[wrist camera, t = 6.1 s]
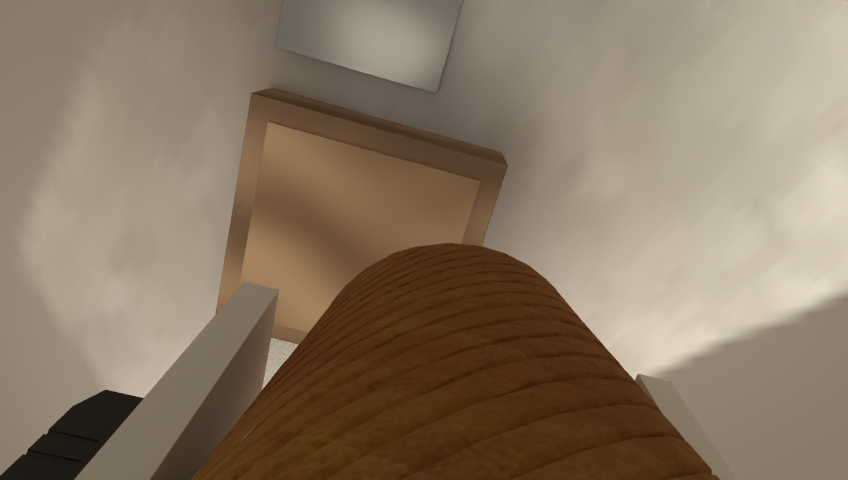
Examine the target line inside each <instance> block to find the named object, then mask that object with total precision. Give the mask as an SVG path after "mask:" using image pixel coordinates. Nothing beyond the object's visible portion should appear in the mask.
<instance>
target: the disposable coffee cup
mask: <svg viewBox="0 0 848 480" xmlns="http://www.w3.org/2000/svg"><path fill="white" fill-rule="evenodd" d="M190 480H720V479H719V478H718V477H717V475H712V469H711V468H710V467H709V466H708V465H707V463H706V462H705V461H704V460H703V459H702V458H701V457H700V456H699V454H698V453H697V452H696V451H695V450H694V449H693V448H692V447H691V445H690V444H689V443H688V442H687V441H685V439H684V438H683V437H682V435H681V434H680V433H679V432H678V430H677V429H676V428H675V427H674V426H673V425H672V424H671V422H670V421H669V420H668V419H667V418H666V417H665V416H664V415H663V413H662V412H661V411H660V410H659V408H658V407H657V406H656V405H655V404H654V402H653V401H652V400H651V399H650V398H649V397H648V396H647V395H646V394H645V392H644V391H643V390H642V388H641V387H640V386H639V385H638V384H637V383H636V382H635V381H634V380H633V378H632V377H631V376H630V375H629V374H628V373H627V372H626V371H625V370H624V369H623V367H622V366H621V365H620V364H619V362H618V361H617V360H616V359H615V358H614V357H613V356H612V354H611V353H610V352H609V351H608V350H607V349H606V348H605V347H604V345H603V344H602V343H601V342H600V341H599V340H598V339H597V337H596V336H595V335H594V334H593V333H592V332H591V330H590V329H589V328H588V327H587V326H586V325H585V324H584V322H582V320H581V319H580V318H579V317H578V315H577V314H576V313H575V312H574V311H573V310H572V308H571V307H570V306H569V305H568V304H567V302H566V301H565V300H564V299H563V298H562V296H561V295H560V294H559V293H558V291H557V290H556V289H555V288H554V287H553V286H552V285H551V284H550V283H549V282H548V281H547V280H546V279H545V278H544V277H543V276H541V275H540V274H539V273H538V272H536V271H535V270H534V269H533V268H531V267H530V266H529V265H527V264H525V263H523V262H521V261H519V260H517V259H515V258H513V257H511V256H509V255H507V254H505V253H502V252H499V251H495V250H492V249H488V248H485V247H481V246H478V245H468V244H457V243H442V244H434V245H426V246H418V247H413V248H409V249H406V250H402V251H399V252H396V253H393V254H391V255H389V256H387V257H385V258H384V259H382V260H380V261H378V262H376V263H374V264H373V265H371V266H369V267H367V268H365V269H364V270H363V271H362V272H361V273H359V274H358V275H357V276H356V277H355V278H354V279H352V280H351V281H350V282H349V283H348V284H347V285H345V287H344V288H343V289H342V290H341V291H340V293H339V294H338V295H337V296H336V298H335V299H334V300H333V301H332V303H331V305H330V306H329V307H328V309H327V310H326V311H325V312H324V314H323V315H322V316H321V318H320V319H319V320H318V321H317V323H316V324H315V325H314V326H313V328H312V329H311V330H310V332H309V333H308V334H307V335H306V337H305V338H304V339H303V340H302V342H301V343H300V344H299V345H298V347H297V348H296V349H295V350H294V352H293V353H292V354H291V355H290V357H289V358H288V359H287V360H286V361H285V362H284V363H283V365H282V366H281V367H280V368H279V370H278V371H277V372H276V373H275V375H274V376H273V377H272V378H271V380H270V381H269V382H268V384H267V385H266V386H265V387H264V389H263V390H262V391H261V392H260V394H259V395H258V396H257V397H256V399H255V400H254V401H253V402H252V404H251V405H250V406H249V408H248V409H247V410H246V411H245V413H244V414H243V415H242V417H241V418H240V419H239V420H238V422H237V423H236V424H235V425H234V427H233V428H232V429H231V430H230V432H229V433H228V434H227V435H226V436H225V437H224V439H223V440H222V441H221V442H220V444H219V445H218V446H217V448H216V449H215V450H214V451H213V453H212V454H211V455H210V456H209V458H208V459H207V460H206V462H205V463H204V464H203V465H202V466H201V467H200V469H199V470H198V471H197V472H196V473H195V474H194V475H193V476H192V477H191V479H190Z"/></svg>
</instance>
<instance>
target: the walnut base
mask: <svg viewBox="0 0 848 480" xmlns="http://www.w3.org/2000/svg"><path fill="white" fill-rule="evenodd" d="M507 166H508V165H507V163H506V161H505V159H504V157H503V155H502V153H499V152H496V151H492V150H489V149H485V148H482V147H478V146H475V145H471V144H468V143H464V142H461V141H457V140H454V139H450V138H446V137H443V136H439V135H436V134H432V133H429V132H425V131H422V130H418V129H415V128H411V127H408V126H404V125H401V124H397V123H393V122H390V121H386V120H383V119H379V118H376V117H372V116H369V115H365V114H362V113H358V112H355V111H351V110H348V109H344V108H340V107H337V106H333V105H330V104H326V103H323V102H319V101H316V100H312V99H309V98H305V97H302V96H298V95H295V94H291V93H287V92H284V91H280V90H277V89H273V88H270V89H266V90H262V91H258V92H255V93H252V94H251V100H250V106H249V113H248V119H247V125H246V131H245V137H244V143H243V149H242V156H241V162H240V168H239V174H238V180H237V186H236V192H235V198H234V205H233V211H232V217H231V223H230V229H229V235H228V241H227V248H226V254H225V260H224V266H223V272H222V278H221V284H220V291H219V297H218V303H217V309H216V314H217V313H218V311H219V310H220V309H221V308H222V307H223V306H224V304H225V303H226V302H227V301H228V300H229V299H230V297H231V296H232V295H233V294H234V293H235V292H236V290H237V289H238V288H239V287H240V286H241V285H242V283H243V282H244V281H245V282H250V283H254V284H258V285H262V286H267V287H271V288H275V289H279V295H278V300H277V306H276V312H275V318H274V323H273V329H272V335H271V337H272V338H276V339H280V340H283V341H287V342H291V343H295V344H300V343H301V342H302V340H303V339H304V338H305V337H306V335H307V334H308V333H309V332H310V330H311V329H312V328H313V326H314V325H315V324H316V323H317V321H318V320H319V319H320V318H321V316H322V315H323V314H324V312H325V311H326V310H327V309H328V307H329V306H330V305H331V303H332V301H333V300H334V299H335V298H336V296H337V295H338V294H339V293H340V291H341V290H342V289H343V288H344V287H345V285H347V284H348V283H349V282H350V281H351V280H352V279H354V278H355V277H356V276H357V275H358V274H359V273H361V272H362V271H363V270H364V269H365V268H367V267H369V266H371V265H373V264H374V263H376V262H378V261H380V260H382V259H384V258H385V257H387V256H389V255H391V254H393V253H396V252H399V251H402V250H406V249H409V248H413V247H418V246H426V245H434V244H442V243H457V244H468V245H478V246H481V245H482V242H483V239H484V236H485V233H486V230H487V227H488V224H489V221H490V218H491V215H492V212H493V209H494V206H495V203H496V200H497V197H498V194H499V191H500V188H501V185H502V182H503V179H504V176H505V172H506V169H507Z"/></svg>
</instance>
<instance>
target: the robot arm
mask: <svg viewBox="0 0 848 480" xmlns="http://www.w3.org/2000/svg"><path fill="white" fill-rule="evenodd" d="M278 295H279V289H275V288H271V287H267V286H262V285H258V284H254V283H250V282H245V281H244V282H243V283H242V285H241V286H240V287H239V288H238V289H237V290H236V292H235V293H234V294H233V295H232V296H231V297H230V299H229V300H228V301H227V302H226V303H225V304H224V306H223V307H222V308H221V309H220V310H219V311H218V313H217V314H216V315H215V316H214V317H213V318H212V320H211V321H210V322H209V323H208V324H207V325H206V327H205V328H204V329H203V330H202V331H201V332H200V334H199V335H198V336H197V337H196V338H195V339H194V341H193V342H192V343H191V344H190V345H189V346H188V348H187V349H186V350H185V351H184V352H183V353H182V355H181V356H180V357H179V358H178V359H177V360H176V362H175V363H174V364H173V365H172V366H171V367H170V369H169V370H168V371H167V372H166V373H165V374H164V376H163V377H162V378H161V379H160V380H159V381H158V382H157V384H156V385H155V386H154V387H153V388H152V389H151V391H150V392H149V393H148V394H147V395H146V396H145V398H140V397H136V396H131V395H127V394H122V393H118V392H113V391H109V390H104V391H102V392H100V393H98V394H96V395H94V396H92V397H90V398H88V399H86V400H84V401H82V402H80V403H78V404H76V405H74V406H73V407H72V408H71V409H69V411H67V412H66V413H65V414H64V415H63V416H62V417H61V418H60V419H59V420H58V421H57V422H56V423H55V424H54V425H53V426H52V427H51V428H50V429H49V431H48V433H47V434H46V435H45V434H43V435H42V436H41V437H40V438H39V439H38V440H37V441H36V442H35V443H34V444H33V445H32V446H31V447H30V448H29V449H28V452H27V453H26V455H22V456H21V457H20V458H19V459H17V460H16V461H15V462H14V463H13V464H12V465H11V466H10V467H9V468H8V469H7V470H6V471H5V472H4V473H3V474H2V475H1V476H0V480H190V479H191V477H192V476H193V475H194V474H195V473H196V472H197V471H198V470H199V469H200V467H201V466H202V465H203V464H204V463H205V462H206V460H207V459H208V458H209V456H210V455H211V454H212V453H213V451H214V450H215V449H216V448H217V446H218V445H219V444H220V442H221V441H222V440H223V439H224V437H225V436H226V435H227V434H228V433H229V432H230V430H231V429H232V428H233V427H234V425H235V424H236V423H237V422H238V420H239V419H240V418H241V417H242V415H243V414H244V413H245V411H246V410H247V409H248V408H249V406H250V405H251V404H252V402H253V401H254V400H255V399H256V397H257V396H258V395H259V394H260V392H261V391H262V386H263V380H264V375H265V369H266V363H267V357H268V352H269V346H270V340H271V335H272V329H273V323H274V318H275V312H276V306H277V300H278ZM635 382H636V383H637V384H638V385H639V386H640V387H641V388H642V390H643V391H644V392H645V394H646V395H647V396H648V397H649V398H650V399H651V400H652V401H653V402H654V404H655V405H656V406H657V407H658V408H659V410H660V411H661V412H662V413H663V415H664V416H665V417H666V418H667V419H668V420H669V421H670V422H671V424H672V425H673V426H674V427H675V428H676V429H677V430H678V432H679V433H680V434H681V435H682V437H683V438H684V439H685V441H687V442H688V443H689V444H690V445H691V447H692V448H693V449H694V450H695V451H696V452H697V453H698V454H699V456H700V457H701V458H702V459H703V460H704V461H705V462H706V463H707V465H708V466H709V467H710V468H711V469H712V475H717V477H718V478H719V479H720V480H739V479H738V478H737V477H736V475H735V474H734V472H733V471H732V469H731V468H730V466H729V465H728V464H727V462H726V461H725V459H724V458H723V456H722V455H721V453H720V452H719V450H718V449H717V448H716V446H715V445H714V443H713V442H712V441H711V439H710V438H709V436H708V435H707V433H706V432H705V430H704V429H703V427H702V426H701V425H700V423H699V422H698V420H697V419H696V417H695V416H694V415H693V413H692V412H691V410H690V409H689V407H688V406H687V405H686V403H685V401H684V400H683V399H682V397H681V396H680V395H679V393H678V391H677V390H676V388H675V387H674V386H673V384H672V383H671V382H670V381H667V380H662V379H658V378H654V377H650V376H645V375H641V374H638V375H637V377H636V380H635Z"/></svg>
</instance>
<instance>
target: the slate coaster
mask: <svg viewBox="0 0 848 480" xmlns="http://www.w3.org/2000/svg"><path fill="white" fill-rule="evenodd" d="M461 3H462V0H283V4H282V10H281V15H280V21H279V27H278V33H277V39H276V44H275V47H276V48H280V49H283V50H287V51H290V52H294V53H297V54H301V55H304V56H308V57H311V58H315V59H318V60H322V61H325V62H329V63H332V64H335V65H339V66H342V67H346V68H349V69H353V70H356V71H360V72H363V73H367V74H370V75H374V76H377V77H381V78H384V79H388V80H391V81H395V82H398V83H402V84H405V85H409V86H412V87H416V88H419V89H423V90H426V91H430V92H433V93H436V94H437V91H438V87H439V84H440V80H441V76H442V73H443V69H444V65H445V62H446V58H447V54H448V51H449V47H450V43H451V40H452V36H453V33H454V29H455V25H456V22H457V18H458V14H459V11H460V7H461Z"/></svg>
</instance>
